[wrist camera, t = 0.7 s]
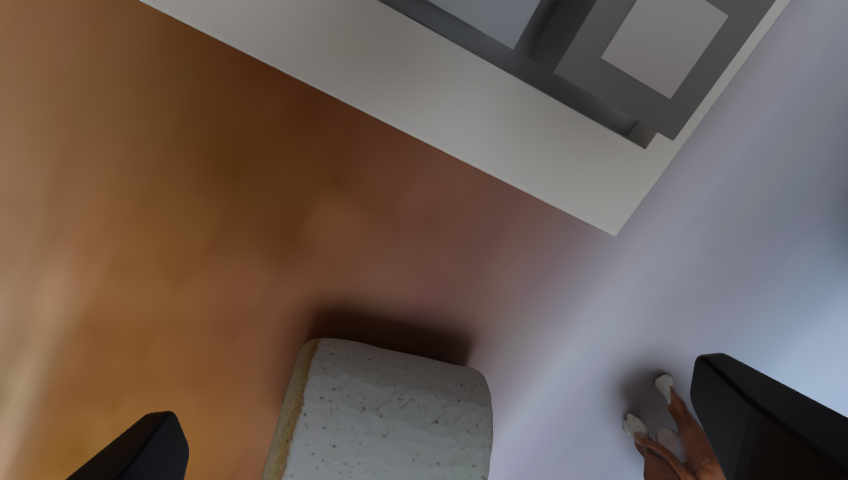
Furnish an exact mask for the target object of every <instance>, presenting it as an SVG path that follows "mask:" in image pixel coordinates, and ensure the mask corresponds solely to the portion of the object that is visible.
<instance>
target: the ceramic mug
mask: <svg viewBox="0 0 848 480" xmlns="http://www.w3.org/2000/svg"><path fill="white" fill-rule="evenodd" d="M492 443H493V413H492V405H491V394H490V391H489V387H488V384H487V382H486V380H485V377H484V376H483V375H482V374H481V373H480V372H479V371H477V370H475V369H473V368H469V367H464V366H458V365H453V364H449V363H445V362H441V361H438V360H434V359H430V358H425V357H420V356H416V355H411V354H407V353H402V352H397V351H392V350H387V349H383V348H379V347H375V346H371V345H368V344H364V343H360V342H355V341H350V340H344V339H333V338H317V339H312V340H310V341H308V342H307V343H306V344H304V345H303V346H302V347H301V349H300V351H299V353H298V356H297V359H296V362H295V365H294V368H293V372H292V375H291V378H290V382H289V385H288V388H287V392H286V395H285V398H284V402H283V405H282V408H281V412H280V415H279V418H278V422H277V425H276V429H275V432H274V436H273V439H272V443H271V446H270V450H269V453H268V456H267V459H266V463H265V466H264V470H263V473H262V477H261V480H488V476H489V469H490V456H491V451H492Z"/></svg>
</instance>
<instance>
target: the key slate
mask: <svg viewBox="0 0 848 480" xmlns="http://www.w3.org/2000/svg"><path fill="white" fill-rule="evenodd" d="M427 1H429V2H431V3H433V4H434V5H436V6H438V7H440V8H441V9H443V10H445V11H447V12H448V13H450V14H452V15H454V16H455V17H457V18H459V19H461V20H462V21H464V22H466V23H468V24H469V25H471V26H473V27H475V28H476V29H478V30H480V31H482V32H483V33H485V34H487V35H489V36H490V37H492V38H494V39H496V40H497V41H499V42H501V43H503V44H504V45H506V46H508V47H510V48H511V49H514V47H515V45H516V43H517V42H518V40H519V38H520V36H521V34H522V33H523V31H524V29H525V27H526V25H527V24H528V22H529V20H530V18H531V17H532V15H533V13H534V11H535V9H536V8H537V6H538V4H539V2H540V0H427Z"/></svg>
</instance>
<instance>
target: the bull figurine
mask: <svg viewBox="0 0 848 480" xmlns="http://www.w3.org/2000/svg"><path fill="white" fill-rule="evenodd" d="M654 384H655V386H656V387H657V389H658V390H659V391H660V392H661V393H662V394H663V395H664V396H665V398H666V399H667V402H668V409H669V412H670V414H671V415H672V417H673V418H674V420H675V421H676V424H677V427H678V431H679V434H680V435H679V434H677V433H675V432H674V431H672V430H671V429H669V428H664V429H662V430H660V431H659V432H657V433H656V437H657V441H656V442H654V441H653V439H652V438H651V437H650V436H649V432H648V429H647V427H646V426H645V425H644V424H643V423H642V421H641V420H640V419H638V418H636V417H635V416H633V415H632V414H628V415H627V419H628V420H623V423H624V425H623V430H624V431H625V432H626V433H627V434H628V435H630V436H632V437H633V438H634V441H635V446H636V448H637V450H638V451H639V452H640V454H641V455H642V456H643V457H644V460H645V465H644V480H726V478H725V476H724V474H723V472H722V470H721V467H720V465H719V463H718V461H717V459H716V456H715V454H714V452H713V450H712V448H711V445H710V443H709V441H708V439H707V436H706V434H705V432H704V431H703V430H702V429H701V428H700V426H699V425H698V423H697V422H696V421H695V419H694V418H693V417H692V416H691V414H690V413H689V411H688V410H687V407H686V405H685V403H684V401H683V400H682V399H681V398H680V397H679V396H678V395H677V394H676V392H675V391H674V388H673V379H672V377H671V376H670V375H669V374H664V375H661V376H659V377H657V378H656V379H655V382H654Z"/></svg>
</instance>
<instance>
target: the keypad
mask: <svg viewBox="0 0 848 480" xmlns="http://www.w3.org/2000/svg"><path fill="white" fill-rule="evenodd" d="M139 1H141V2H143V3H145V4H147V5H149V6H151V7H154V8H156V9H158V10H160V11H162V12H164V13H166V14H168V15H170V16H172V17H174V18H176V19H178V20H180V21H182V22H184V23H186V24H188V25H190V26H192V27H194V28H196V29H198V30H200V31H202V32H204V33H206V34H208V35H210V36H212V37H214V38H216V39H218V40H220V41H222V42H224V43H226V44H228V45H230V46H232V47H234V48H236V49H238V50H240V51H242V52H244V53H246V54H248V55H250V56H252V57H254V58H256V59H258V60H260V61H262V62H264V63H266V64H268V65H270V66H272V67H274V68H276V69H278V70H280V71H282V72H284V73H286V74H289V75H291V76H293V77H295V78H297V79H299V80H301V81H303V82H305V83H307V84H309V85H311V86H313V87H315V88H317V89H319V90H321V91H323V92H325V93H327V94H329V95H331V96H333V97H335V98H337V99H339V100H341V101H343V102H345V103H347V104H349V105H351V106H353V107H355V108H357V109H359V110H361V111H363V112H365V113H367V114H369V115H371V116H373V117H375V118H377V119H379V120H381V121H383V122H385V123H387V124H389V125H391V126H393V127H395V128H397V129H399V130H401V131H403V132H405V133H407V134H409V135H411V136H413V137H415V138H417V139H419V140H422V141H424V142H426V143H428V144H430V145H432V146H434V147H436V148H438V149H440V150H442V151H444V152H446V153H448V154H450V155H452V156H454V157H456V158H458V159H460V160H462V161H464V162H466V163H468V164H470V165H472V166H474V167H476V168H478V169H480V170H482V171H484V172H486V173H488V174H490V175H492V176H494V177H496V178H498V179H500V180H502V181H504V182H506V183H508V184H510V185H512V186H514V187H516V188H518V189H520V190H522V191H524V192H526V193H528V194H530V195H532V196H534V197H536V198H538V199H540V200H542V201H544V202H546V203H548V204H550V205H552V206H554V207H557V208H559V209H561V210H563V211H565V212H567V213H569V214H571V215H573V216H575V217H577V218H579V219H581V220H583V221H585V222H587V223H589V224H591V225H593V226H595V227H597V228H599V229H601V230H603V231H605V232H607V233H609V234H611V235H613V236H615V237H616V235H617V234H618V233H619V231H620V230H621V229H622V227H623V226H624V225H625V223H626V222H627V221H628V219H629V218H630V216H631V215H632V214H633V212H634V211H635V210H636V208H637V207H638V206H639V204H640V203H641V202H642V200H643V199H644V198H645V196H646V195H647V193H648V192H649V191H650V189H651V188H652V187H653V185H654V184H655V183H656V181H657V180H658V179H659V177H660V176H661V175H662V173H663V172H664V170H665V169H666V168H667V166H668V165H669V164H670V162H671V161H672V160H673V158H674V157H675V156H676V154H677V153H678V152H679V150H680V149H681V147H682V146H683V145H684V143H685V142H686V141H687V139H688V138H689V137H690V135H691V134H692V133H693V131H694V130H695V129H696V127H697V126H698V125H699V123H700V122H701V120H702V119H703V118H704V116H705V115H706V114H707V112H708V111H709V110H710V108H711V107H712V106H713V104H714V103H715V102H716V100H717V99H718V97H719V96H720V95H721V93H722V92H723V91H724V89H725V88H726V87H727V85H728V84H729V83H730V81H731V80H732V79H733V77H734V76H735V74H736V73H737V72H738V70H739V69H740V68H741V66H742V65H743V64H744V62H745V61H746V60H747V58H748V57H749V56H750V54H751V53H752V52H753V50H754V49H755V47H756V46H757V45H758V43H759V42H760V41H761V39H762V38H763V37H764V35H765V34H766V33H767V31H768V30H769V29H770V27H771V26H772V24H773V23H774V22H775V20H776V19H777V18H778V16H779V15H780V14H781V12H782V11H783V10H784V8H785V7H786V6H787V4H788V3H789V1H790V0H776V1H775V2H774V4H773V5H772V6H771V8H770V9H769V11H768V12H767V13H766V15H765V16H764V17H763V19H762V20H761V22H760V23H759V24H758V26H757V27H756V28H755V30H754V31H753V32H752V34H751V35H750V37H749V38H748V39H747V41H746V42H745V43H744V45H743V46H742V48H741V49H740V50H739V52H738V53H737V54H736V56H735V57H734V59H733V60H732V61H731V63H730V64H729V65H728V67H727V68H726V69H725V71H724V72H723V74H722V75H721V76H720V78H719V79H718V80H717V82H716V83H715V85H714V86H713V87H712V89H711V90H710V91H709V93H708V94H707V96H706V97H705V98H704V100H703V101H702V102H701V104H700V105H699V107H698V108H697V109H696V111H695V112H694V113H693V115H692V116H691V117H690V119H689V120H688V122H687V123H686V124H685V126H684V127H683V128H682V130H681V131H680V133H679V134H678V135H677V137H676V138H675V139H674V141H672V140H670V139H668V138H667V137H665V136H663V135H662V134H660V133H658V132H656V131H655V130H653V129H651V128H649V127H648V126H646V125H644V124H642V123H641V122H639V121H637V120H635V119H634V118H632V117H630V116H628V115H627V114H625V113H623V112H621V111H620V110H618V109H616V108H614V107H613V106H611V105H609V104H607V103H606V102H604V101H602V100H600V99H599V98H597V97H595V96H593V95H592V94H590V93H588V92H586V91H585V90H583V89H581V88H579V87H578V86H576V85H574V84H572V83H571V82H569V81H567V80H565V79H564V78H562V77H560V76H558V75H557V74H555V73H553V72H551V71H550V70H548V69H546V68H545V67H543V66H541V65H540V64H538V63H536V62H535V61H533V60H531V59H530V58H528V57H529V55H530V53H531V52H532V50H533V48H534V46H535V45H536V43H537V41H538V39H539V38H540V36H541V34H542V32H543V31H544V29H545V27H546V25H547V24H548V22H549V20H550V18H551V17H552V15H553V13H554V11H555V10H556V8H557V6H558V4H559V3H560V1H561V0H540V2H539V4H538V6H537V8H536V9H535V11H534V13H533V15H532V17H531V18H530V20H529V22H528V24H527V25H526V27H525V29H524V31H523V33H522V34H521V36H520V38H519V40H518V42H517V43H516V45H515V47H514V49H511V48H510V47H508V46H506V45H504V44H503V43H501V42H499V41H497V40H496V39H494V38H492V37H490V36H489V35H487V34H485V33H483V32H482V31H480V30H478V29H476V28H475V27H473V26H471V25H469V24H468V23H466V22H464V21H462V20H461V19H459V18H457V17H455V16H454V15H452V14H450V13H448V12H447V11H445V10H443V9H441V8H440V7H438V6H436V5H434V4H433V3H431V2H429V1H427V0H139Z"/></svg>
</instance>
